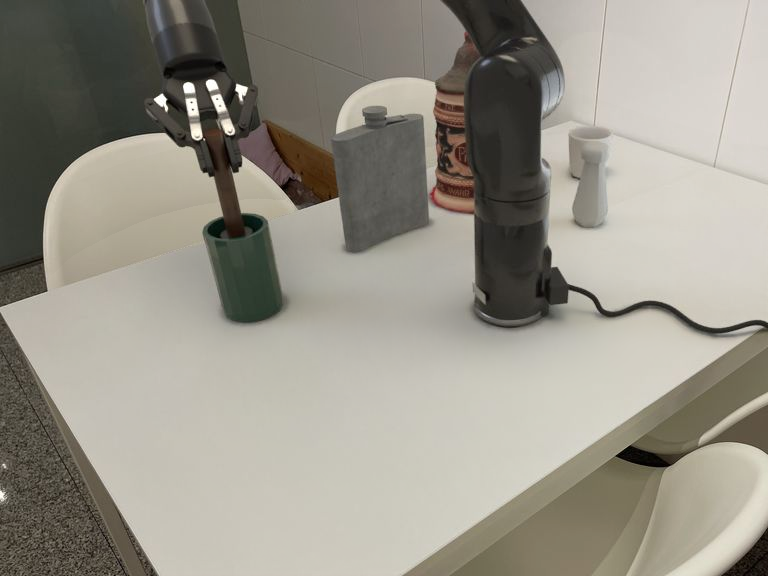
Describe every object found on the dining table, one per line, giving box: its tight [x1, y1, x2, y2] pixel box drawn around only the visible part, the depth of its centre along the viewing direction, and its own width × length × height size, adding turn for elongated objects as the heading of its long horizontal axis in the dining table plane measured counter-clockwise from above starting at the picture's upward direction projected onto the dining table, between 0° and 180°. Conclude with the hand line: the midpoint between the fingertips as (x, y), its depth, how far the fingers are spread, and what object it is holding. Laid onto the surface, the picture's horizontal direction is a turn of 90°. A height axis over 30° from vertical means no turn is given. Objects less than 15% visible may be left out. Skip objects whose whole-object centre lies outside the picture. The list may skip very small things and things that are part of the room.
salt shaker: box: [571, 142, 610, 228], centre depth 111 cm, size 6×6×13 cm
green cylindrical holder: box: [201, 212, 285, 323], centre depth 92 cm, size 8×8×12 cm
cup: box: [567, 125, 614, 179], centre depth 128 cm, size 11×8×8 cm
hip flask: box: [330, 105, 430, 253], centre depth 107 cm, size 16×4×20 cm, turn 132°
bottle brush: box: [202, 128, 253, 239], centre depth 87 cm, size 4×4×18 cm
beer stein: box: [428, 29, 480, 214], centre depth 117 cm, size 17×28×18 cm
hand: (224, 171), depth 82 cm, fingers closed on bottle brush, 2 cm apart
